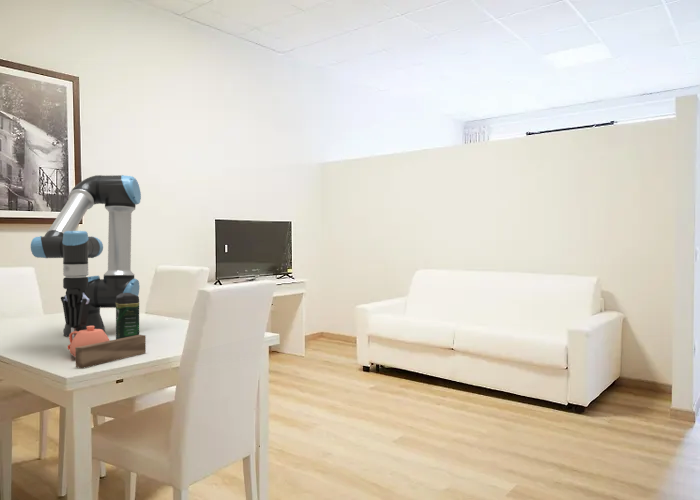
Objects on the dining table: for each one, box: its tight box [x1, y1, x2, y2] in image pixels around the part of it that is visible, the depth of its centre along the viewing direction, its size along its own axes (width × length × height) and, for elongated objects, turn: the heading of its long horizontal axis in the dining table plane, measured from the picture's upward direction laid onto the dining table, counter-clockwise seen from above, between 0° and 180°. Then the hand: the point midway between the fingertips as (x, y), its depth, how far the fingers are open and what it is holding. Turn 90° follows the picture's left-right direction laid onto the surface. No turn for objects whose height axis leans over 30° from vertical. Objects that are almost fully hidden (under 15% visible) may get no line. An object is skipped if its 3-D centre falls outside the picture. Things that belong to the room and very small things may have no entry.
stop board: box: [75, 334, 147, 369], centre depth 174 cm, size 3×24×6 cm, turn 153°
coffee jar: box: [115, 293, 140, 339], centre depth 202 cm, size 10×8×19 cm
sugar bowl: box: [67, 326, 110, 358], centre depth 178 cm, size 12×14×10 cm
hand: (76, 346), depth 182 cm, fingers closed
